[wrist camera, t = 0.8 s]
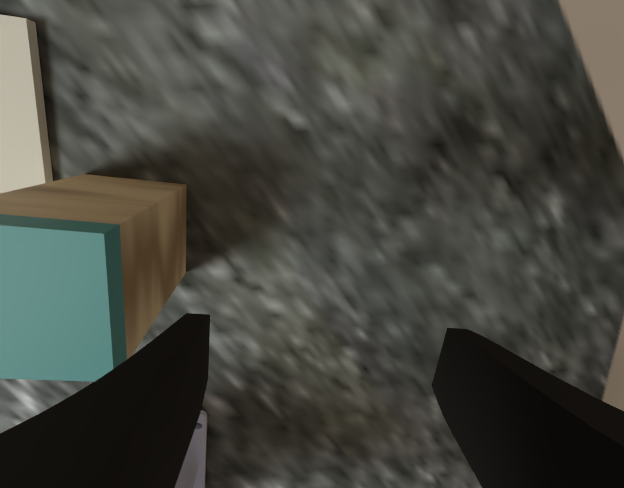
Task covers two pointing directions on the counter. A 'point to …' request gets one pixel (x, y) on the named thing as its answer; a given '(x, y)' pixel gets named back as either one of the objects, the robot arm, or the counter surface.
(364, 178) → the counter surface
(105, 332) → the wooden block
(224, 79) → the counter surface
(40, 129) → the board
